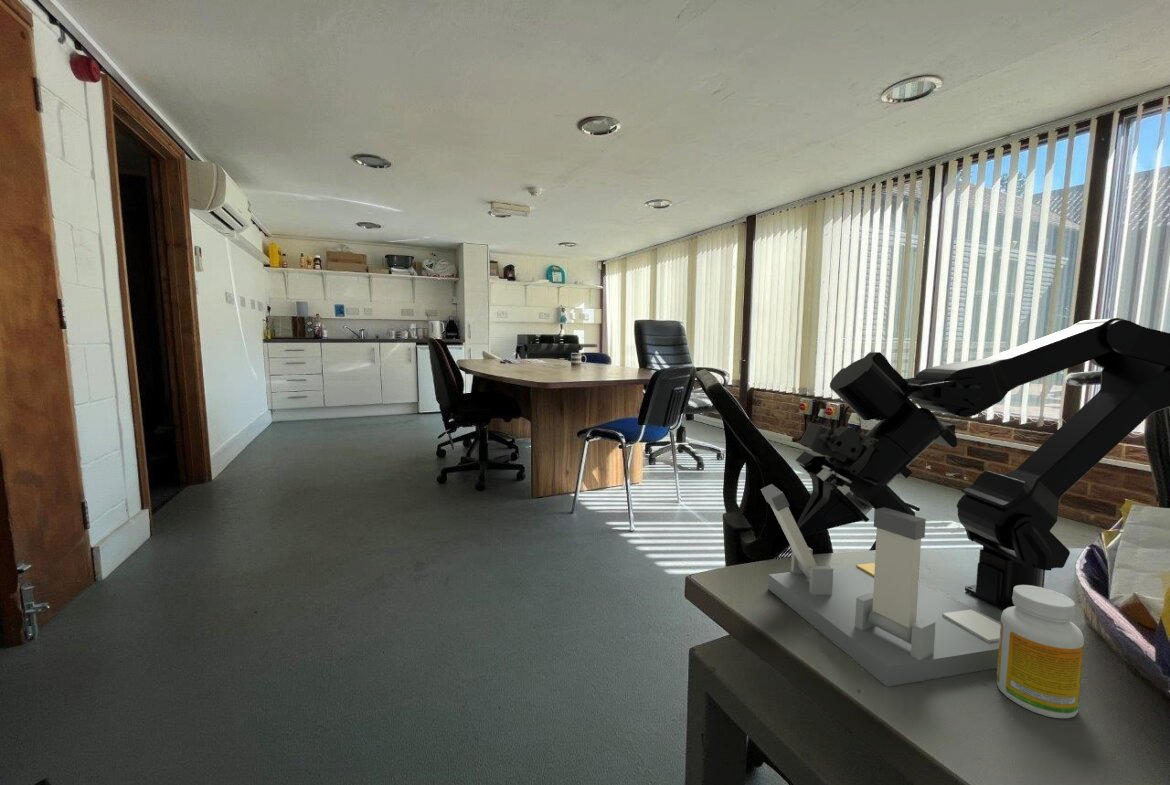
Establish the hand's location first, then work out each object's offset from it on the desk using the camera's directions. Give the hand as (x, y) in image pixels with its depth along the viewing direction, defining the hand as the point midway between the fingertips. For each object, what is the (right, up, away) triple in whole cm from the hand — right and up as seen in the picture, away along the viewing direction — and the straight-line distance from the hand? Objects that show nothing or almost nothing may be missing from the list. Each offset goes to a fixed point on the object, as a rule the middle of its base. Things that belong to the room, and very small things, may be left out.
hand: (798, 532), depth 60 cm
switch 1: (+2, -5, 0) cm, 5 cm away
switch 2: (+4, -6, -12) cm, 14 cm away
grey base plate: (+8, -9, -5) cm, 13 cm away
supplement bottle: (+14, -10, -17) cm, 24 cm away
